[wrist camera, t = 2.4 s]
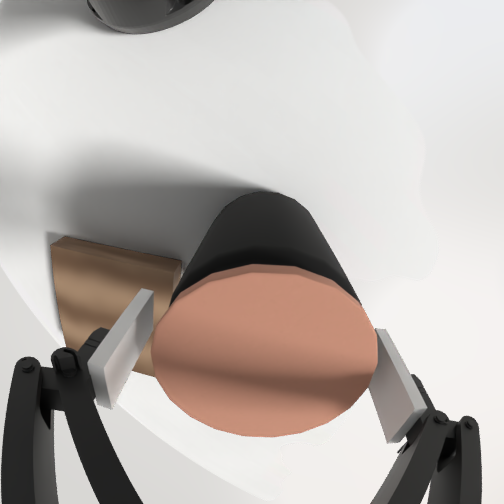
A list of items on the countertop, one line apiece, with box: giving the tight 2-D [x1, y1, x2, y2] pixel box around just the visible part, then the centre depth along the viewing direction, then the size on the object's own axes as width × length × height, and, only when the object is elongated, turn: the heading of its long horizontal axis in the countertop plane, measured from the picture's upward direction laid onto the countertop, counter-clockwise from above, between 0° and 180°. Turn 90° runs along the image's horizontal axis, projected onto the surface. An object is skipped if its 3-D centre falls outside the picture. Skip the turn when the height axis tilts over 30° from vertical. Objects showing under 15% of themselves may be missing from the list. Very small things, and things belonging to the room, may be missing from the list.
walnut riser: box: [50, 237, 182, 377], centre depth 31 cm, size 15×15×3 cm
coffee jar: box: [151, 192, 378, 437], centre depth 21 cm, size 11×11×18 cm
